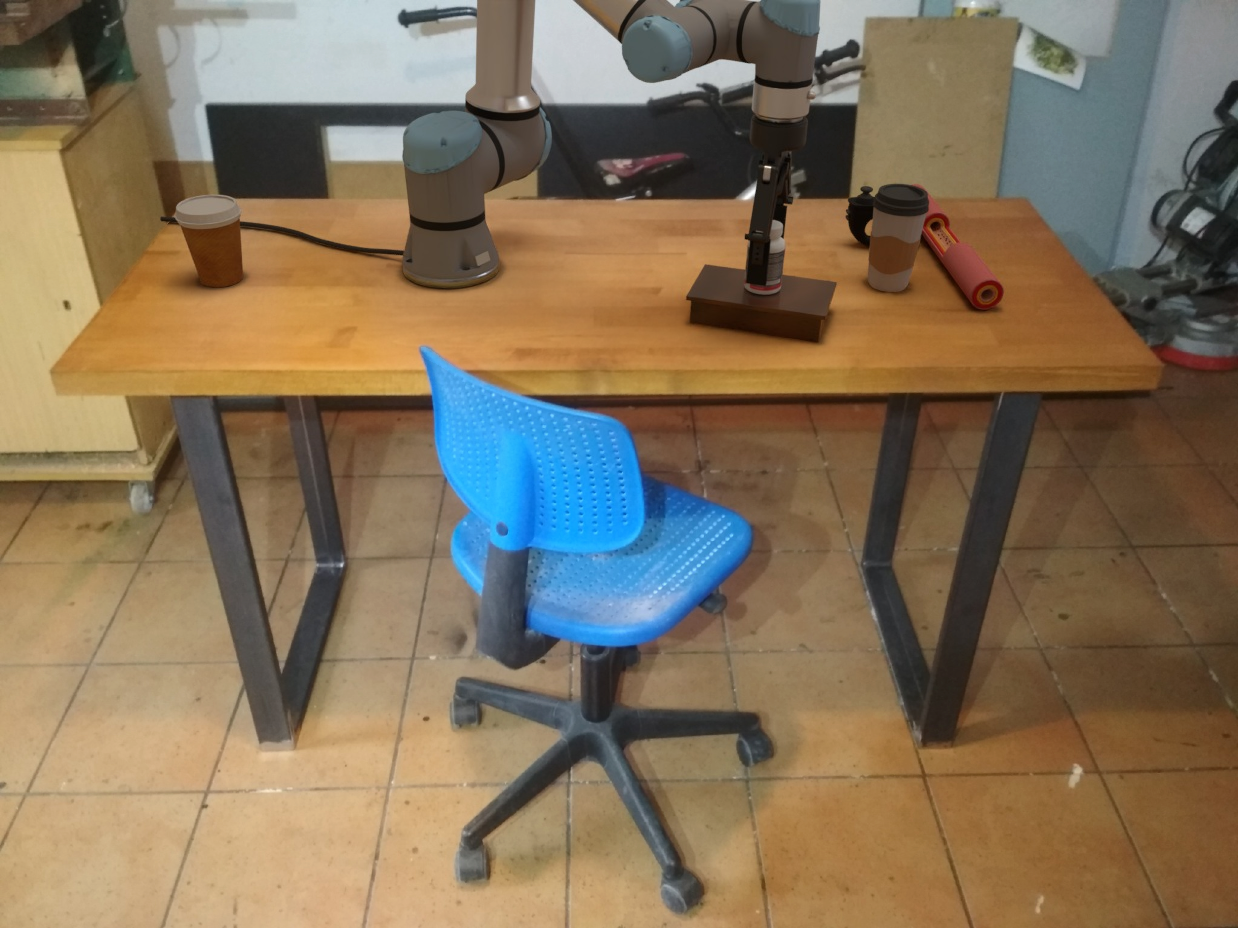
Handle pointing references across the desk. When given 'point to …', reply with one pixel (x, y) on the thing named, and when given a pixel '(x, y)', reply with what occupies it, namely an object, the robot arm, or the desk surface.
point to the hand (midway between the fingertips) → (765, 265)
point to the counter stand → (760, 304)
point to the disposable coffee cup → (213, 237)
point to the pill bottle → (771, 263)
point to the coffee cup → (895, 235)
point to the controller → (860, 214)
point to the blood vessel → (961, 259)
